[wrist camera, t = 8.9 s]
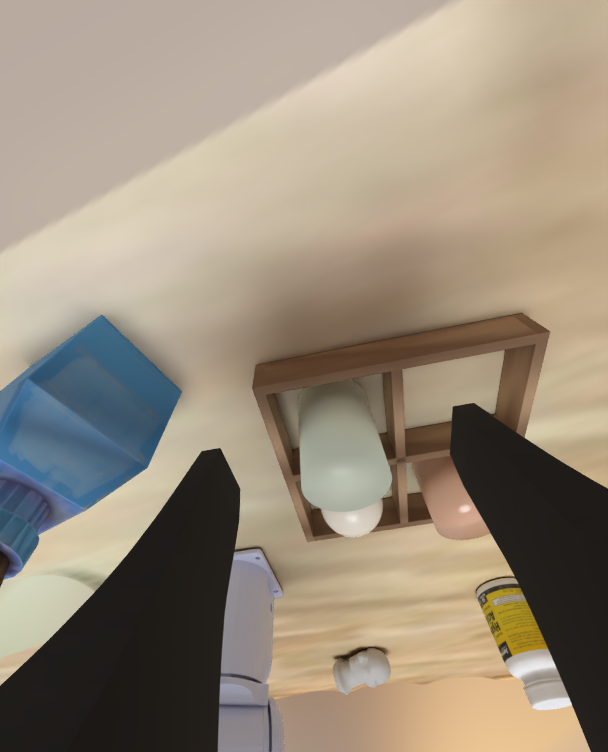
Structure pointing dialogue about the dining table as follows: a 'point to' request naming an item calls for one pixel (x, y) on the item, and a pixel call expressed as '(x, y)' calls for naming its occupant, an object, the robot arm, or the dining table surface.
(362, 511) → the egg
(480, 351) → the wooden compartment tray
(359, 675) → the smooth white sculpture
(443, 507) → the pink rounded cylinder
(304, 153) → the dining table surface
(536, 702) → the supplement bottle
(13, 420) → the perfume bottle
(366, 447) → the sage green cylinder
